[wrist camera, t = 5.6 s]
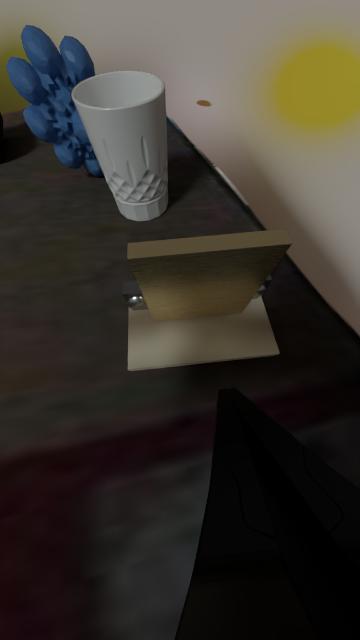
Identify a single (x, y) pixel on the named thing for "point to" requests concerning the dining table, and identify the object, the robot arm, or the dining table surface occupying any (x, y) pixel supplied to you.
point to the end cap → (1, 135)
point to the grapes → (55, 95)
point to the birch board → (199, 338)
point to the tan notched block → (205, 272)
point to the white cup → (128, 138)
